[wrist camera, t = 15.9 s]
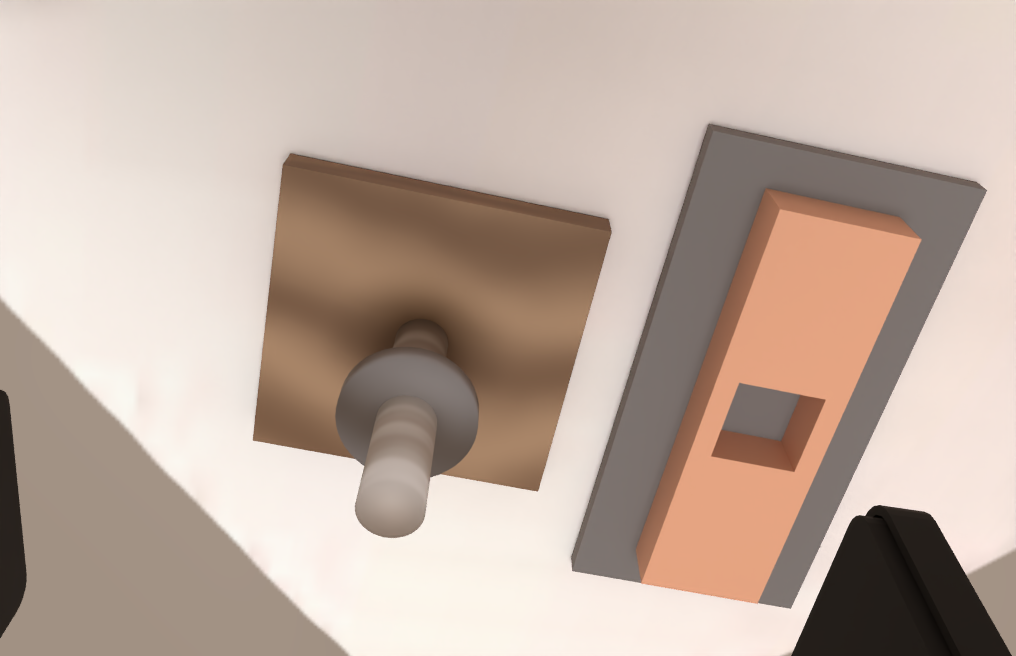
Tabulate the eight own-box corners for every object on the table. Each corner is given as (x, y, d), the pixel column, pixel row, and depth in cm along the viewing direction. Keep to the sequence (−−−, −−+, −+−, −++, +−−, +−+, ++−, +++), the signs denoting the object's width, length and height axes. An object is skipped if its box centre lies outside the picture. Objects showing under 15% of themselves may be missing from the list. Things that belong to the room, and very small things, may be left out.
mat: (708, 124, 40) (713, 130, 39) (976, 182, 41) (986, 190, 40) (571, 558, 51) (572, 570, 50) (786, 595, 52) (790, 608, 51)
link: (765, 188, 40) (780, 209, 38) (899, 217, 41) (921, 239, 39) (635, 549, 49) (641, 583, 47) (746, 569, 50) (757, 603, 48)
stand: (290, 153, 41) (196, 289, 29) (608, 219, 42) (644, 375, 30) (260, 423, 47) (172, 625, 35) (537, 473, 49) (543, 685, 37)
